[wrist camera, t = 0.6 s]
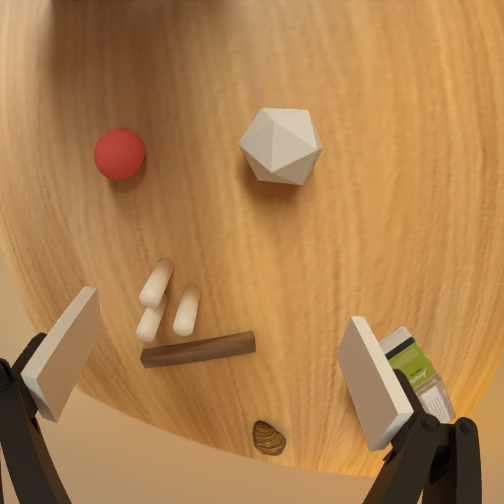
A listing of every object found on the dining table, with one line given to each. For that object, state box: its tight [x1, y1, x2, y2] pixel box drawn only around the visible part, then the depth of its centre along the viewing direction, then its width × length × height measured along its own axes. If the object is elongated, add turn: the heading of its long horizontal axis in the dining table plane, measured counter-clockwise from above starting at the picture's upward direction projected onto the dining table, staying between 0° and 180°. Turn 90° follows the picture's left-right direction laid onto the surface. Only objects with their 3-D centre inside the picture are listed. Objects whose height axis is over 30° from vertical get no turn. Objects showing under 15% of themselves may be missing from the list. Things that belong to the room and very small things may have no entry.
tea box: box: [378, 326, 456, 423], centre depth 43 cm, size 15×10×15 cm, turn 38°
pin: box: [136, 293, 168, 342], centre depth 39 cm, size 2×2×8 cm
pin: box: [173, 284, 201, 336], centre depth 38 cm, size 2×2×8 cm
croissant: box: [253, 421, 286, 456], centre depth 54 cm, size 14×7×5 cm, turn 20°
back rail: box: [140, 331, 256, 368], centre depth 45 cm, size 2×18×2 cm, turn 103°
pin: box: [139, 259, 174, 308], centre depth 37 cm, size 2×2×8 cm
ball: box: [95, 129, 144, 180], centre depth 32 cm, size 6×6×6 cm
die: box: [238, 108, 323, 185], centre depth 32 cm, size 8×9×10 cm
